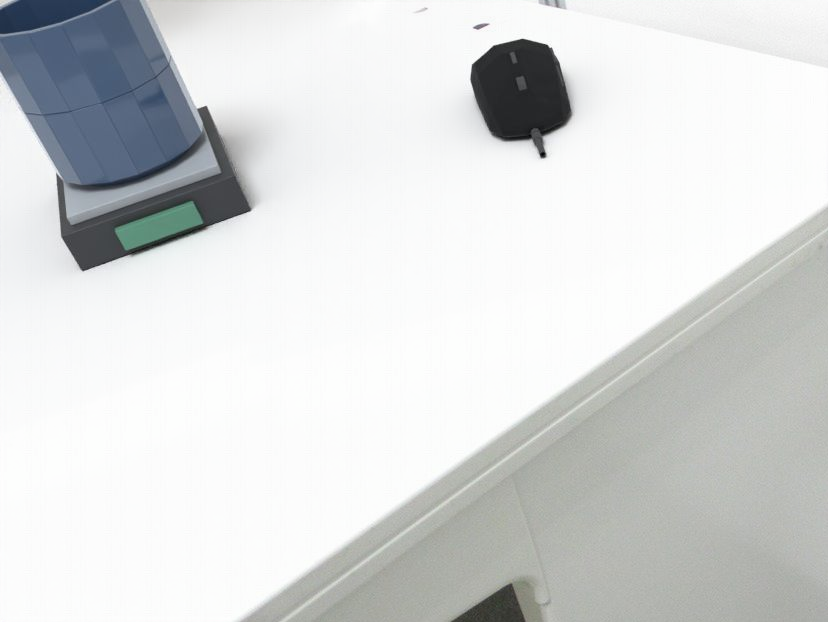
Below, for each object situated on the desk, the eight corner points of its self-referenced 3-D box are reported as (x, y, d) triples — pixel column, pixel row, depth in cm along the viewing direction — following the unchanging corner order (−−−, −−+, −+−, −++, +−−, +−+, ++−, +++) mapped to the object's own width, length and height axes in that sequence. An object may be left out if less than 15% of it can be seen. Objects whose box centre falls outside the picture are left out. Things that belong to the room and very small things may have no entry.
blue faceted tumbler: (35, 199, 69) (-58, 45, 63) (106, 131, 76) (29, -15, 70) (168, 185, 68) (86, 24, 61) (229, 116, 74) (161, -35, 68)
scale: (72, 188, 78) (49, 148, 76) (221, 137, 80) (202, 97, 78) (82, 275, 67) (55, 231, 65) (252, 213, 70) (232, 169, 68)
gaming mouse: (495, 170, 68) (478, 110, 66) (471, 85, 79) (456, 30, 77) (591, 145, 69) (578, 84, 66) (554, 63, 80) (542, 8, 77)
